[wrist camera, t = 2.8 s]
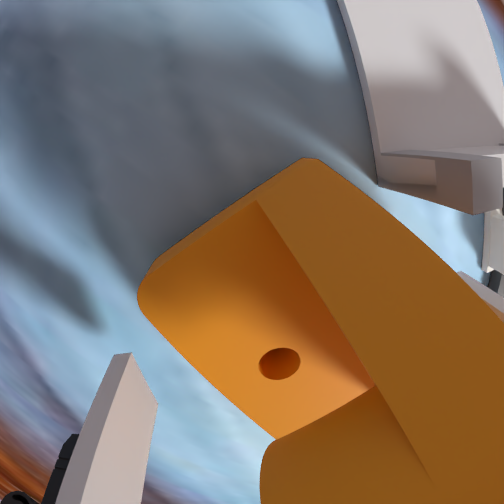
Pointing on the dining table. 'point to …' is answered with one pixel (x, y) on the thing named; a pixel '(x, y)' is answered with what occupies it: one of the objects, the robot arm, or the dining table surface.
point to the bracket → (339, 345)
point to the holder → (431, 99)
